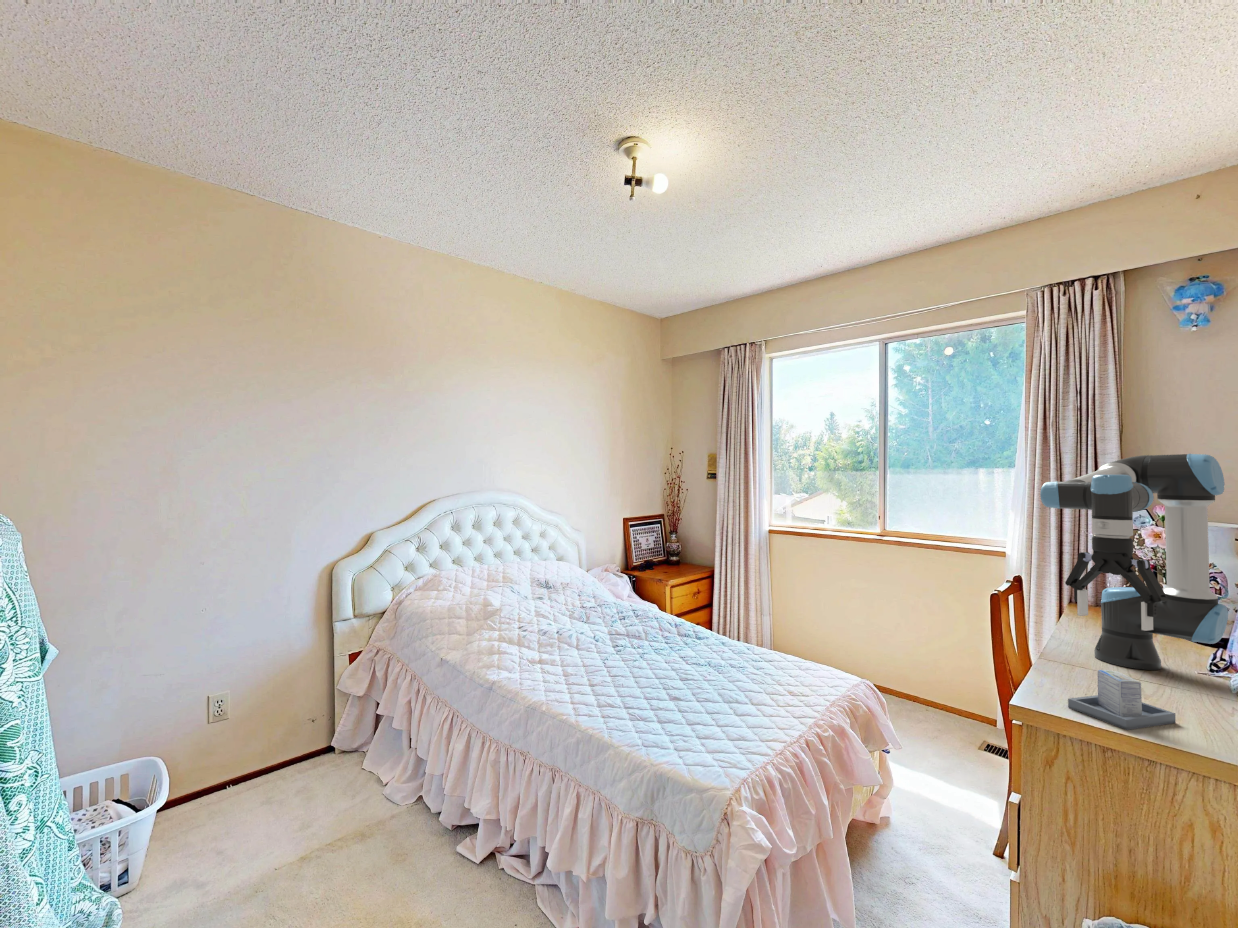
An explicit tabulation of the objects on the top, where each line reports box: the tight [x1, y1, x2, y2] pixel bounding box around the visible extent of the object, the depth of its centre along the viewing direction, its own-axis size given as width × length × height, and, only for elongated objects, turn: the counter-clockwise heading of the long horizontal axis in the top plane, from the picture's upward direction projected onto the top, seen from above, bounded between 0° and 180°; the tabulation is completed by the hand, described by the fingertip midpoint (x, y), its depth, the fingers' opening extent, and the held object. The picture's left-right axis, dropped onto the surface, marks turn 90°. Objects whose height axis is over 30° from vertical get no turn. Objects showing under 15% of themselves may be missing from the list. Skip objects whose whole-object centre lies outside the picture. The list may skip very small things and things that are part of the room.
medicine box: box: [1097, 669, 1143, 718], centre depth 127 cm, size 8×4×9 cm, turn 169°
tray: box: [1067, 694, 1177, 731], centre depth 126 cm, size 16×12×2 cm
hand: (1113, 622), depth 131 cm, fingers open, 13 cm apart
